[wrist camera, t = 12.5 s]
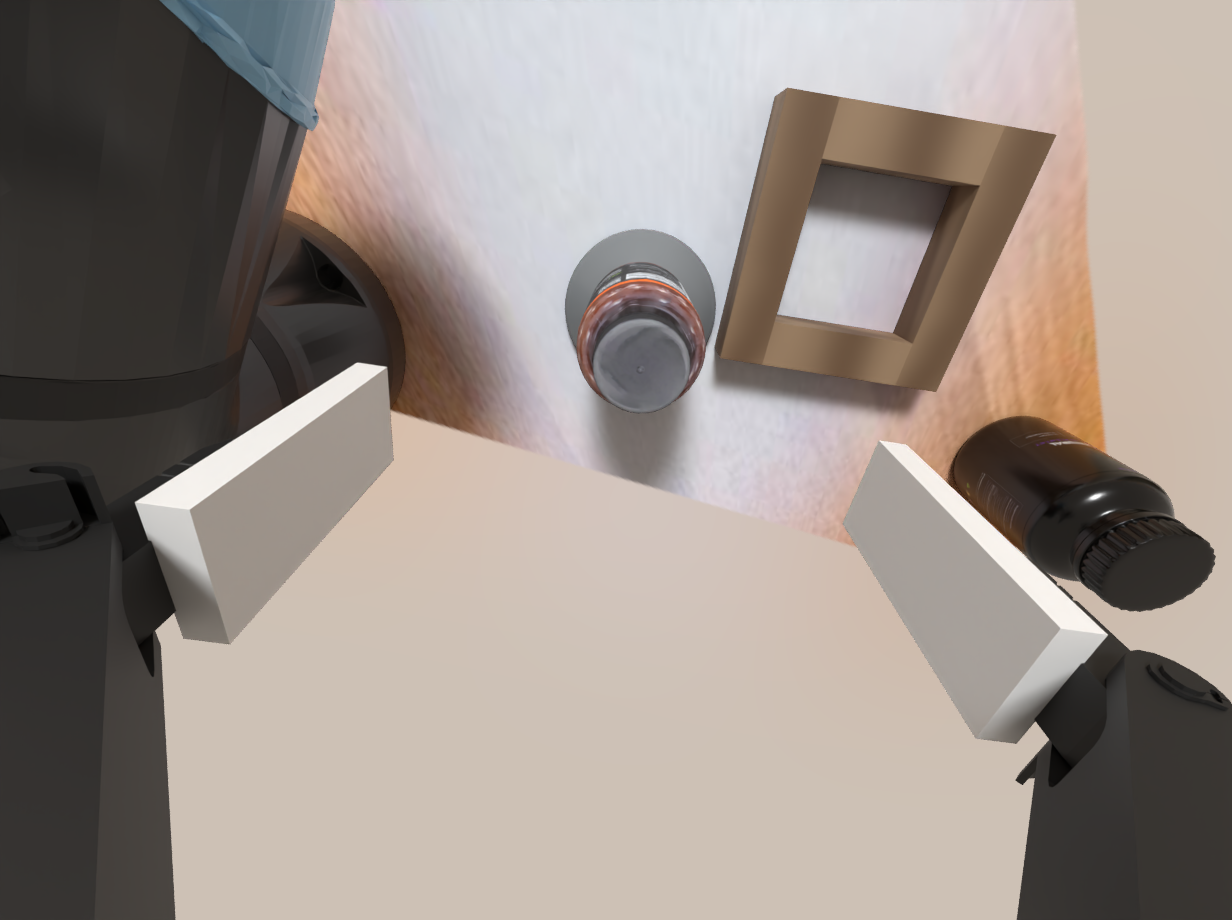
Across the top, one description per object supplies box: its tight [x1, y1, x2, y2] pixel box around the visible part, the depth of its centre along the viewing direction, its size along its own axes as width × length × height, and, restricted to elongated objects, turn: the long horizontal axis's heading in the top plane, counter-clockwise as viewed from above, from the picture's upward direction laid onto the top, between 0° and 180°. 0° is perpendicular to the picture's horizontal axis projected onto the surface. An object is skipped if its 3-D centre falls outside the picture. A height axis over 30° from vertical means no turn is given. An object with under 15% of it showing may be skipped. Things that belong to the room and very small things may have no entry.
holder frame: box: [715, 88, 1056, 392], centre depth 28 cm, size 13×13×2 cm
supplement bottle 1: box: [577, 262, 706, 413], centre depth 26 cm, size 6×6×11 cm
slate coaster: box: [565, 229, 716, 348], centre depth 31 cm, size 9×9×1 cm
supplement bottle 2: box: [954, 416, 1216, 612], centre depth 29 cm, size 7×7×12 cm
